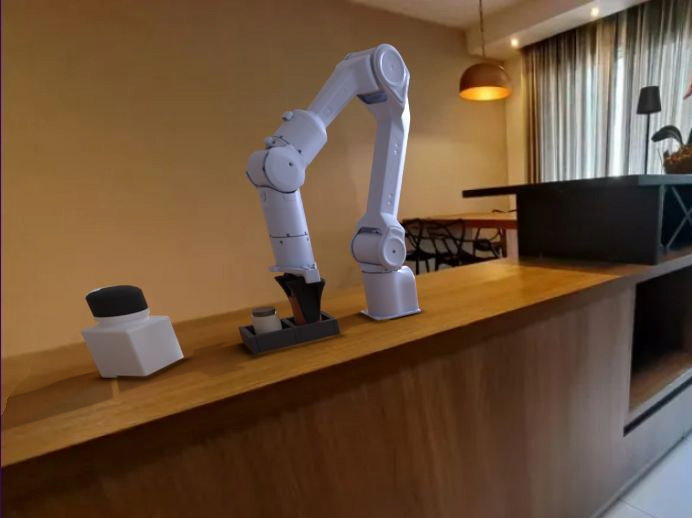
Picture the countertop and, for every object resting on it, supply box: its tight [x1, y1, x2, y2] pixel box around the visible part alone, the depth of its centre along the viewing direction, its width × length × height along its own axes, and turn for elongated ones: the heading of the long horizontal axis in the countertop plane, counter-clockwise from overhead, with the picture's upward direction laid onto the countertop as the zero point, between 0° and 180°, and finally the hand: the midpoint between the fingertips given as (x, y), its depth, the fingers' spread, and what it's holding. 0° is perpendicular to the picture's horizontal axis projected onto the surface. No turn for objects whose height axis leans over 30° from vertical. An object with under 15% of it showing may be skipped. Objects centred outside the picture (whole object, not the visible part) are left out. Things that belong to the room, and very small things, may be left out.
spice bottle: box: [288, 291, 322, 326], centre depth 74 cm, size 4×4×8 cm
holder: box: [238, 310, 341, 355], centre depth 74 cm, size 14×7×3 cm, turn 132°
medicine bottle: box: [80, 284, 185, 379], centre depth 62 cm, size 7×7×12 cm
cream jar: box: [250, 305, 283, 335], centre depth 71 cm, size 4×4×6 cm
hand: (308, 318), depth 75 cm, fingers closed on spice bottle, 4 cm apart
